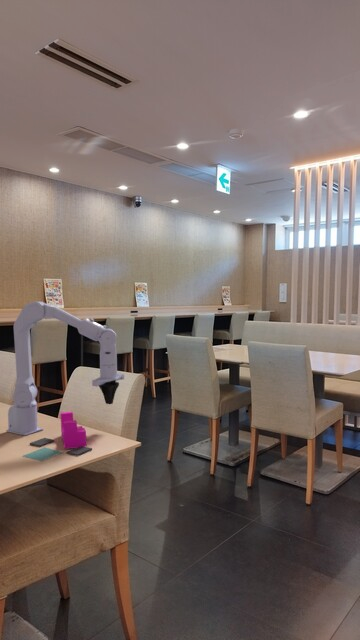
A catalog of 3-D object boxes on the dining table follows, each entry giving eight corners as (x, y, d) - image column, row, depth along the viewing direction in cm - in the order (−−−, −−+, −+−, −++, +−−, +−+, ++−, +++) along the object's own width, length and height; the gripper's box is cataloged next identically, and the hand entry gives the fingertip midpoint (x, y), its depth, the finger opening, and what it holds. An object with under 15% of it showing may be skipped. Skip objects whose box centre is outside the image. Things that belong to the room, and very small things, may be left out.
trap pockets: (29, 444, 141) (29, 443, 141) (44, 439, 146) (44, 437, 146) (77, 456, 131) (77, 454, 131) (92, 449, 136) (92, 448, 136)
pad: (21, 456, 131) (21, 456, 131) (44, 447, 139) (44, 447, 139) (41, 461, 127) (41, 461, 127) (63, 452, 134) (63, 451, 134)
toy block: (86, 446, 138) (85, 421, 138) (65, 448, 136) (63, 423, 136) (81, 433, 152) (79, 410, 152) (61, 435, 150) (60, 412, 150)
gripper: (103, 368, 149) (104, 409, 150) (130, 362, 161) (131, 400, 162) (87, 366, 152) (87, 407, 153) (115, 360, 165) (115, 398, 166)
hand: (109, 403), depth 158 cm, fingers closed
